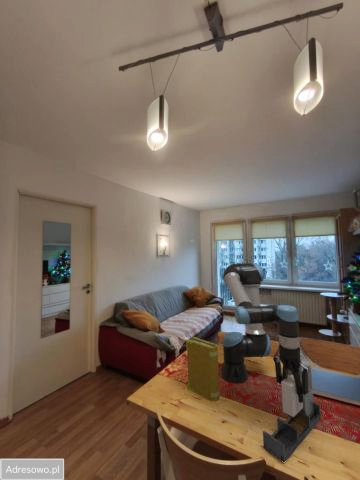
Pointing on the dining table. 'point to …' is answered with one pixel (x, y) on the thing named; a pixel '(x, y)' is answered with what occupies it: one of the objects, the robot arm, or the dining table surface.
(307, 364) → the network device
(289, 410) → the block
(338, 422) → the dining table surface
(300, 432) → the rack
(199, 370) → the book
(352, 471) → the dining table surface
